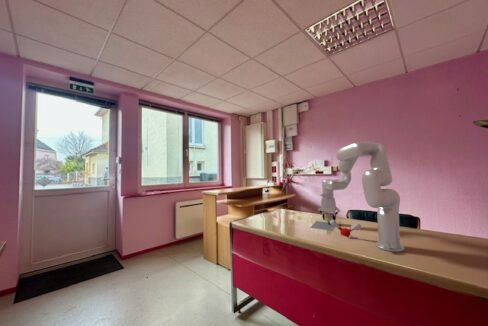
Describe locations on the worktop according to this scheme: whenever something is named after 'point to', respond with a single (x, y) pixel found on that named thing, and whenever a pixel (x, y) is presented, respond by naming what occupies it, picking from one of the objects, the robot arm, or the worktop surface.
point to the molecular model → (344, 230)
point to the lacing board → (322, 226)
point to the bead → (328, 217)
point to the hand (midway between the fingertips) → (329, 219)
